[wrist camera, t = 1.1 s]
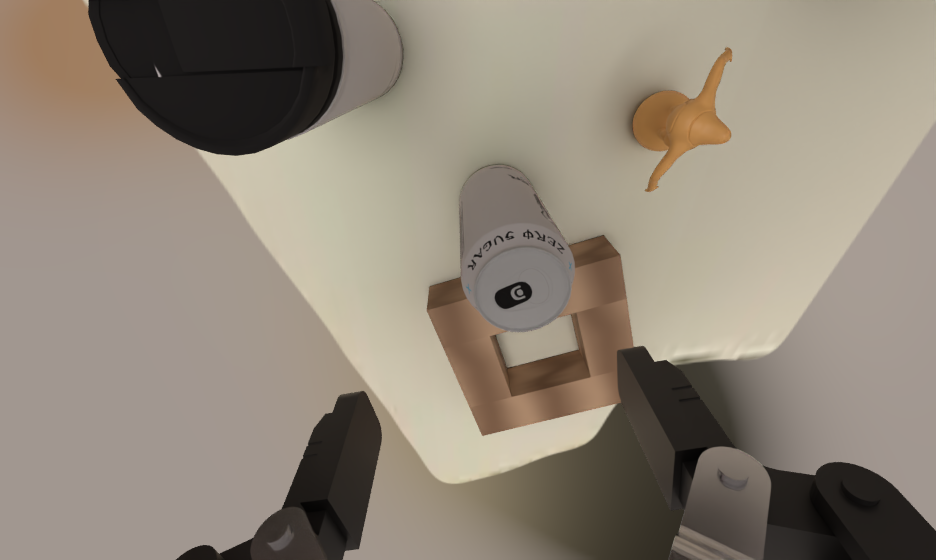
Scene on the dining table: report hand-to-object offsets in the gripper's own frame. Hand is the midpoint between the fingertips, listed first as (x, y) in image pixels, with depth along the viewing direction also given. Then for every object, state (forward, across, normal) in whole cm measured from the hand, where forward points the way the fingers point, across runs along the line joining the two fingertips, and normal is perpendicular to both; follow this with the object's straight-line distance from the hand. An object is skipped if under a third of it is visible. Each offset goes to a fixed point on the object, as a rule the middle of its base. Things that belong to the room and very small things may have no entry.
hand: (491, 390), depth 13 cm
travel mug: (+22, +6, -11) cm, 26 cm away
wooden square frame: (+22, -3, +15) cm, 27 cm away
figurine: (+23, -13, -3) cm, 27 cm away
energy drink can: (+23, -2, +1) cm, 23 cm away
